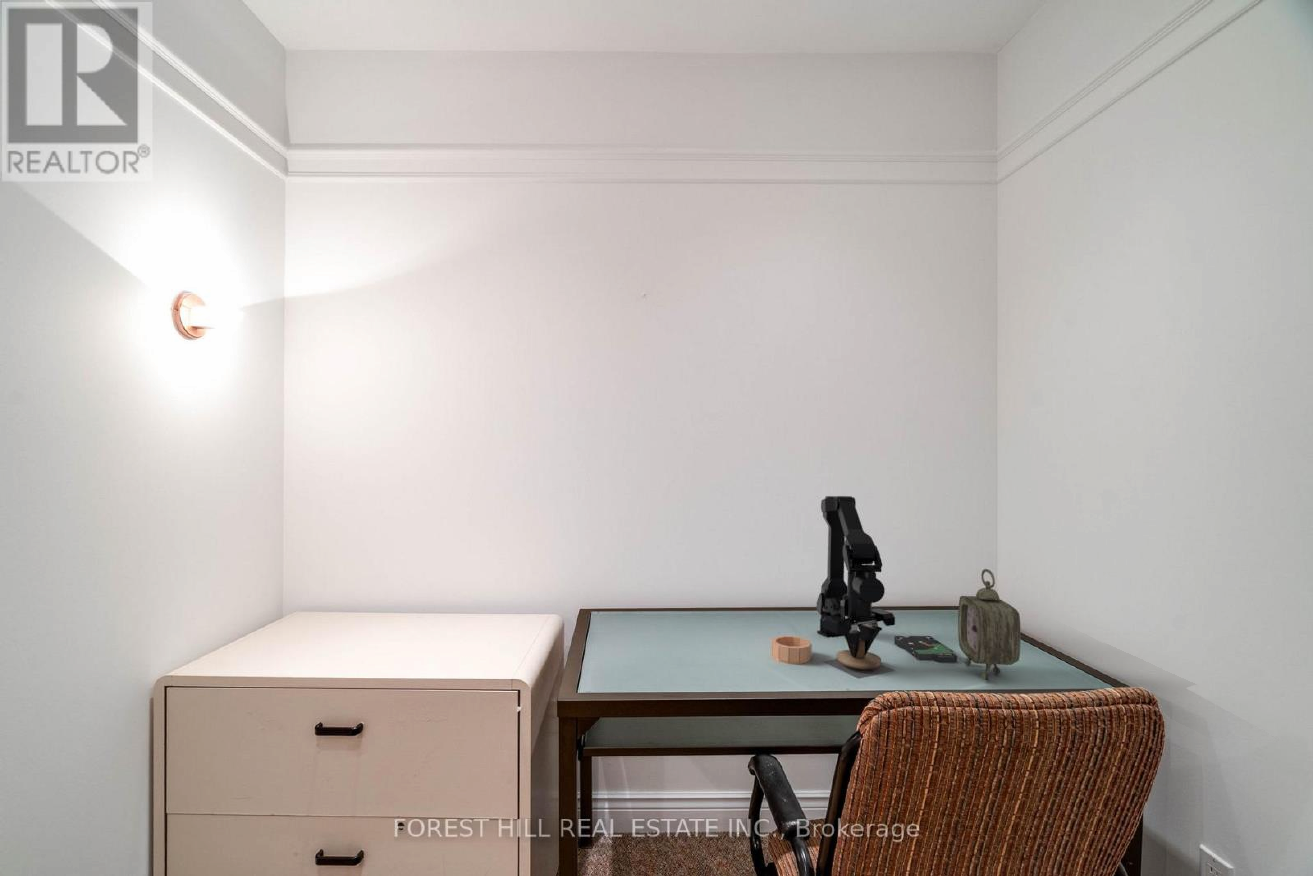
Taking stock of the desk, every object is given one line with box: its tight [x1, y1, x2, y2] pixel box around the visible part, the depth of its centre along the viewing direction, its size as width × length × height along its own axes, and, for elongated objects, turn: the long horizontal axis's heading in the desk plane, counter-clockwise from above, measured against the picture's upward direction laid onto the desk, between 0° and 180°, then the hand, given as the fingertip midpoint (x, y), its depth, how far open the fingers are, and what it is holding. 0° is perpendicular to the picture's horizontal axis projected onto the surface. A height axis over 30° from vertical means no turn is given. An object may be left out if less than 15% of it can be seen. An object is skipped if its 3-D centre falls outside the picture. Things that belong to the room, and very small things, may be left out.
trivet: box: [822, 658, 896, 679], centre depth 156 cm, size 12×12×1 cm
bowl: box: [770, 635, 813, 665], centre depth 162 cm, size 10×10×4 cm
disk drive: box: [894, 635, 958, 663], centre depth 168 cm, size 10×3×15 cm
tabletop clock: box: [957, 568, 1021, 682], centre depth 154 cm, size 14×9×25 cm, turn 174°
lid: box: [835, 639, 882, 669], centre depth 156 cm, size 10×10×5 cm
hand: (858, 656), depth 156 cm, fingers closed on lid, 3 cm apart
